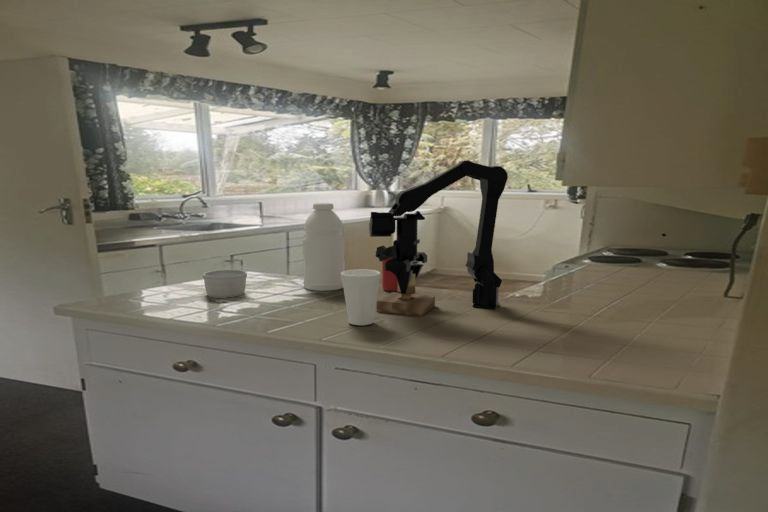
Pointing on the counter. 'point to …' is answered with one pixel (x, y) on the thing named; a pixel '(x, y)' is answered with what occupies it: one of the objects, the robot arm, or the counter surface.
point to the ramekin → (225, 283)
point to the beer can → (388, 279)
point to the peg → (408, 289)
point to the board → (406, 304)
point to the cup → (361, 294)
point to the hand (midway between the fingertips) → (406, 291)
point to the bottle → (323, 249)
